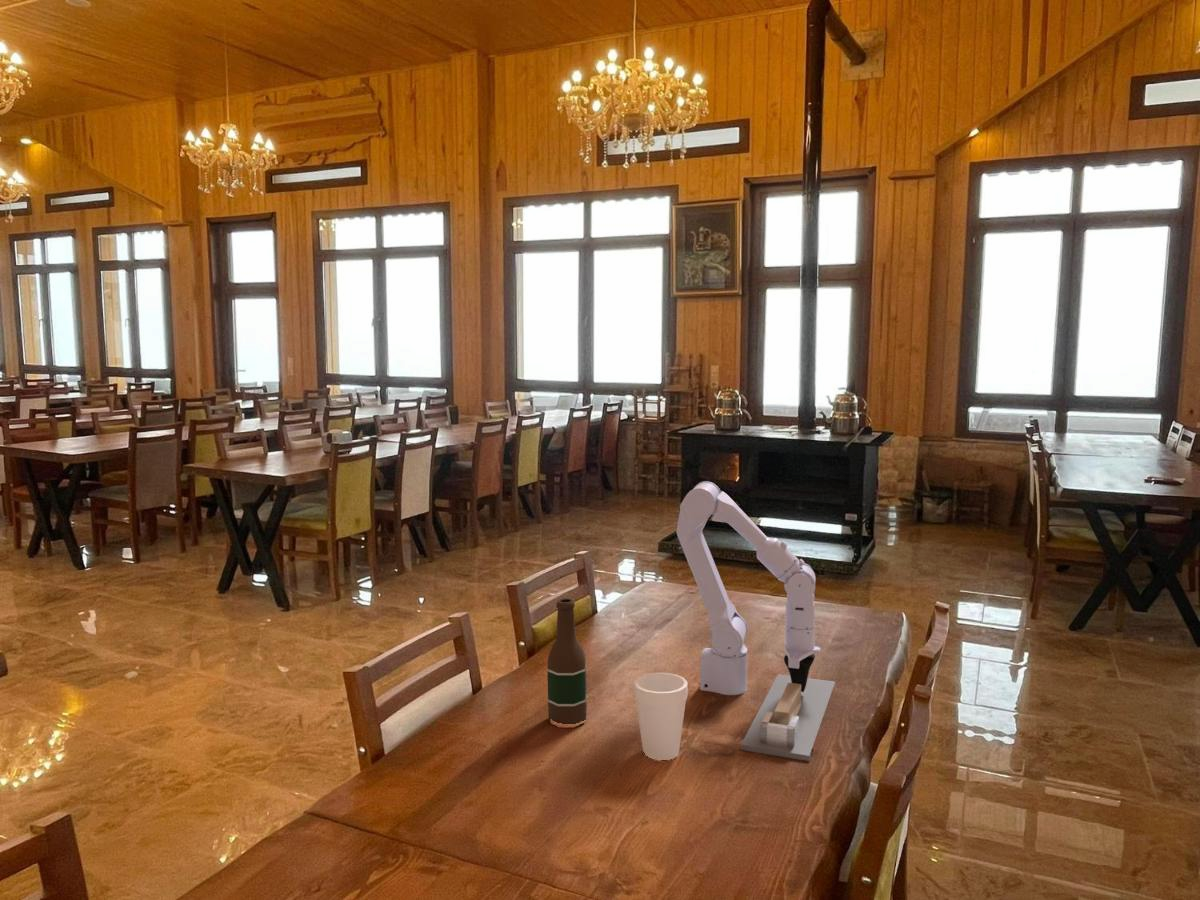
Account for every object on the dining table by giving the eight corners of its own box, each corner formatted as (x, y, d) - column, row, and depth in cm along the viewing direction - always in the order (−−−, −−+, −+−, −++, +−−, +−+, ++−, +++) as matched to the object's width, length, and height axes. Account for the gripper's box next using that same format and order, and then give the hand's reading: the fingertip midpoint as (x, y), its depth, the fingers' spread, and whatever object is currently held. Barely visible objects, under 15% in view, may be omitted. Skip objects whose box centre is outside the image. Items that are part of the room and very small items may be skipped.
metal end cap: (760, 742, 153) (760, 724, 152) (766, 729, 158) (766, 711, 157) (793, 748, 150) (793, 729, 150) (798, 734, 156) (799, 716, 155)
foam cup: (651, 770, 145) (651, 697, 144) (625, 747, 154) (624, 678, 152) (698, 757, 150) (697, 686, 148) (669, 736, 158) (669, 668, 156)
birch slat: (774, 734, 156) (774, 710, 155) (788, 704, 169) (788, 682, 168) (788, 736, 155) (788, 712, 154) (800, 706, 168) (801, 684, 167)
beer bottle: (594, 715, 167) (592, 597, 164) (576, 732, 160) (574, 608, 157) (559, 709, 170) (556, 592, 167) (540, 725, 163) (537, 603, 160)
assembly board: (740, 749, 152) (741, 744, 152) (778, 678, 184) (778, 674, 184) (809, 761, 148) (809, 755, 148) (835, 686, 180) (835, 681, 180)
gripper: (814, 639, 163) (813, 707, 165) (825, 616, 177) (824, 679, 178) (777, 635, 166) (777, 701, 168) (791, 613, 179) (790, 675, 181)
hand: (799, 690), depth 173 cm, fingers closed
